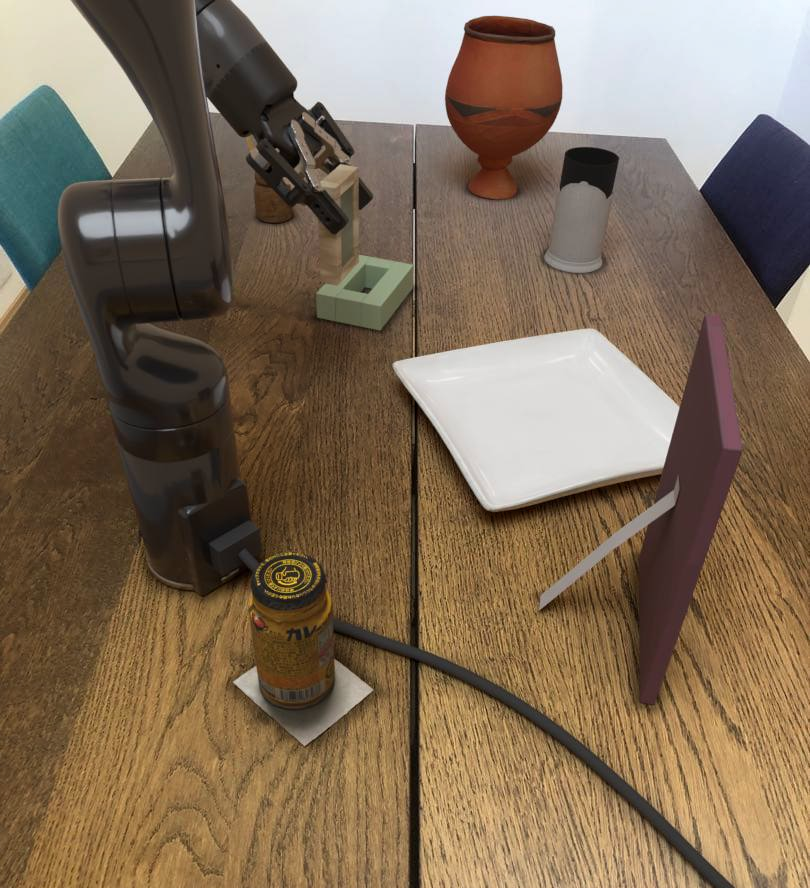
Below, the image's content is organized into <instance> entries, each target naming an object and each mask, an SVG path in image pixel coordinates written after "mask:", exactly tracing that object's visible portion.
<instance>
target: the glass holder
mask: <svg viewBox="0 0 810 888" xmlns="http://www.w3.org/2000/svg"><path fill="white" fill-rule="evenodd" d="M619 162H620V157H619V155H617V153H615V152H613V151H610V150H608V149H604V148H601V147H593V146H578V147H577V146H576V147H571V148H569V149H567V150H565V152H564V156H563V161H562V169H561V175H560V182H559V184H558V188H557V193H556V199H555V206H554V212H553V218H552V224H551V231H550V236H549V242H548V243H549V244H548V248H547V251H545V254H544V255H543V259H544V262H545V263H546V264H547V265H548V266H550V267H552V268H553V269H556V270H559V271H561V272H562V271H563V272H566V273H573V274H574V273H575V274H585V273H592V272H595V271H597V270H599V269H600V268H602V266H603V258H602V252H603V247H604V243H605V237H606V231H607V227H608V222H609V217H610V212H611V208H612V204H613V203H612V202H613V197H614V187H615V181H616V176H617V171H618V167H619Z"/></svg>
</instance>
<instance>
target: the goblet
mask: <svg viewBox="0 0 810 888" xmlns="http://www.w3.org/2000/svg"><path fill="white" fill-rule="evenodd" d="M463 31H464V34H463V37H462V40H461V44H460V47H459V51H458V53H457V55H456V58H455V60H454V62H453V65H452V66H451V69H450V73H449V75H448V78H447V82H446V87H445V95H444V104H445V112H446V116H447V119H448V122H449V124H450V126H451V128H452V130H453V132H454V133H455V135H456V136H457V137H458V139H459V140H460V141H461V142H462V143H463V145H465V147H466V148H468V149H469V150H470V151H471V152H473V153H474V154H476V155H477V159H476V161H477V163H478V164H479V166H480V167H481V168H480V169H479V170H478V172H477V173H476V174H475V175H474V176H473V178H472V179H471V180H470V182H469V183H468V187H467V188H468V190H469V192H470V193H471V194H473V195H475V196H477V197H481V198H483V199H490V200H505V199H510V198H513V197H514V196H515V195H516V194H517V193H518V186H517V183H516V181H515V180H514V178H513V176H512V174H511V173H510V171H509V169H508V166H510V164H512V162H513V157H514V156H517V155H520V154H522V153H524V152H526V151H528V150H529V149H531V148H533V147H534V146H535V145H536V144H538V143H539V142H540V141H541V140H542V139H543V138H545V136H546V135H547V134H548V132H549V131H550V129H552V127H553V125H554V123H555V122H556V119H557V117H558V114H559V112H560V110H561V106H562V101H563V90H564V89H563V88H564V87H563V77H562V72H561V71H562V70H561V66H560V60H559V57H558V51H557V46H556V41H555V37H556V29H555V28H554V26H553V25H549V24H546V23H543V22H539V21H536V20H534V19H529V18H522V17H515V16H506V15H482V16H479V17H474V18H472V19H469V20H467V22H465V24H464V27H463Z"/></svg>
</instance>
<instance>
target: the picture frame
mask: <svg viewBox="0 0 810 888" xmlns="http://www.w3.org/2000/svg"><path fill="white" fill-rule="evenodd" d="M724 333H725V332H724V328H723V322H722V316H721V315H717V314H716V315H715V314H704V316H703V319H702V323H701V327H700V331H699V334H698V338H697V341H696V345H695V348H694V353H693V355H692V360H691V364H690V367H689V371H688V375H687V377H686V383H685V386H684V390H683V393H682V398H681V401H680V405H679V407H680V408H679V412H678V415H677V419H676V423H675V426H674V430H673V434H672V438H671V441H670V445H669V449H668V452H667V456H666V460H665V463H664V467H663V471H662V474H660V478H659V483H658V485H657V489H656V494H655V497H654V501H653V504H652V505H651V506H650V507H648V508H647V509H646V510H644V511H643V512H641V513H640V514H639V515H638V516H636V517H635V518H633V519H632V520H631V521H629V522H628V523H626V524H625V525H624V526H622V527H621V528H620V529H619V530H617V531H616V532H615V533H614V534H612V535H610V536H609V537H608V538H607V539H606V540H605V541H604V542H602V543H601V544H600V545H599V546H597V547H596V548H595V549H594V550H593V551H592V552H591V553H589V554H588V555H587V556H585V558H584V559H582V560H581V561H580V562H579V563H578V564H576V565H575V566H574V567H573V568H571V569H570V570H569V571H568V572H567V573H565V574H564V575H563V576H562V577H560V578H559V580H557V581H556V582H555V583H554V584H552V585H551V586H550V587H549V588H548V589H547V590H545V591H544V592H542V594H540V600H539V607H538V610H539V611H541V610H542V609H543V608H544V607H546V606H547V605H548V604H549V603H550V602H552V601H553V600H554V599H555V598H556V597H558V596H559V595H560V594H561V593H563V592H564V591H565V590H566V589H568V588H569V587H570V586H571V585H572V584H573V583H575V582H576V581H577V580H579V579H580V578H581V577H582V576H583V575H584V574H586V573H587V572H588V571H590V570H591V569H592V568H593V567H594V566H595V565H596V564H598V563H599V562H600V561H602V560H603V559H604V558H605V557H606V556H608V555H609V554H610V553H612V552H613V550H616V548H617V547H619V546H621V545H622V544H623V543H625V542H626V541H627V540H629V539H630V538H631V537H633V536H635V535H636V534H637V533H639V532H640V531H641V530H642V529H644V528H646V531H645V533H644V538H643V541H642V546H641V548H640V552H639V557H638V636H639V637H638V639H639V640H638V642H639V645H638V647H639V650H638V651H639V653H638V654H639V703H641V704H647V705H653V706H654V705H655V704H656V703H657V699H658V696H659V693H660V690H661V687H662V685H663V682H664V679H665V677H666V673H667V670H668V667H669V665H670V661H671V658H672V656H673V652H674V650H675V647H676V644H677V641H678V639H679V636H680V632H681V630H682V628H683V624H684V621H685V618H686V616H687V612H688V610H689V607H690V604H691V601H692V599H693V595H694V592H695V590H696V587H697V584H698V581H699V578H700V575H701V572H702V569H703V567H704V564H705V560H706V558H707V555H708V552H709V549H710V546H711V544H712V541H713V538H714V535H715V532H716V529H717V526H718V523H719V522H720V521H719V520H720V517H721V514H722V511H723V510H724V506H725V504H726V500H727V497H728V495H729V491H730V489H731V486H732V483H733V480H734V477H735V474H736V471H737V468H738V466H739V464H740V460H741V457H742V454H743V450H744V449H743V443H742V437H741V430H740V425H739V419H738V413H737V407H736V401H735V400H736V399H735V394H734V389H733V382H732V377H731V371H730V370H731V369H730V364H729V357H728V353H727V346H726V340H725V334H724Z"/></svg>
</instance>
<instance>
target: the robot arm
mask: <svg viewBox="0 0 810 888" xmlns="http://www.w3.org/2000/svg"><path fill="white" fill-rule="evenodd" d="M70 2H71V3H72V4H73V6H74V7H75V9H76V10H77V11H78V12H79V14H80V15H81V16H82V17H83V19H84V20H85V21H86V23H87V24H88V25H89V27H90V28H91V29H92V31H93V32H94V33H95V34H96V36H97V37H98V38H99V39H100V41H101V43H103V45H104V46H105V47H106V49H107V50H108V51H109V53H110V54H111V55H112V57H113V58H114V60H115V61H116V62H117V64H118V65H119V66H120V68H121V70H122V71H123V73H124V74H125V76H126V77H127V79H128V80H129V82H130V83H131V85H132V86H133V88H134V90H135V92H136V93H137V95H138V96H139V98H140V99H141V102H142V103H143V105H144V106H145V108H146V110H147V112H148V114H149V115H150V116H151V119H152V120H153V122H154V124H155V126H156V128H157V130H158V133H159V135H160V137H161V138H162V140H163V143H164V145H165V148H166V150H167V153H168V156H169V160H170V162H171V167H172V175H171V176H170V177H162V178H160V177H151V178H149V177H148V178H129V179H107V180H89V181H80V182H79V181H78V182H73V183H71V184H70V185H68V186H67V187H66V188H65V189H64V190H63V192H62V194H61V196H60V198H59V201H58V206H57V207H58V208H57V231H58V237H59V243H60V247H61V252H62V257H63V258H62V259H63V261H64V265H65V268H66V273H67V275H68V278H69V282H70V285H71V288H72V291H73V294H74V297H75V300H76V303H77V306H78V309H79V312H80V315H81V319H82V321H83V324H84V327H85V330H86V333H87V336H88V341H89V343H90V346H91V349H92V353H93V355H94V360H95V364H96V368H97V371H98V375H99V378H100V382H101V384H102V385H101V386H102V388H103V393H104V397H105V401H106V404H107V408H108V412H109V416H110V420H111V423H112V427H113V431H114V435H115V439H116V444H117V448H118V451H119V455H120V459H121V463H122V468H123V470H124V474H125V478H126V482H127V486H128V490H129V494H130V497H131V498H130V499H131V500H132V505H133V510H134V513H135V517H136V520H137V521H136V522H137V524H138V537H137V542H138V546H139V549H140V550H141V548H142V543H143V547H144V550H145V558H146V563H147V567H148V569H149V572H150V573H151V574H152V576H153V577H154V578H155V579H156V580H158V581H159V582H160V583H161V584H164V585H165V586H168V587H171V588H174V589H177V590H183V591H193V592H196V594H198V595H199V596H201V597H203V596H206V595H207V594H209V593H211V592H212V591H214V590H215V589H217V588H219V587H220V586H222V585H224V584H226V583H227V582H229V581H231V580H233V579H234V578H235V577H237V576H238V575H241V573H243V572H245V571H246V570H248V569H249V570H250V572H252V573H253V572H254V570H255V568H256V567H257V566H258V564H259V563H260V562H259V561H258V559H257V556H258V555H259V554H261V553H262V552H263V547H262V540H261V532H260V531H261V530H260V528H259V526H257V525H256V524H254V522H253V520H252V512H251V505H250V498H249V497H250V496H249V489H248V485H247V483H246V482H245V481H244V480H243V479H242V475H241V473H242V472H241V468H240V459H239V453H238V452H239V451H238V446H237V436H236V429H235V424H234V423H235V422H234V421H235V420H234V415H233V414H234V413H233V406H232V400H231V399H232V398H231V392H230V384H229V377H228V371H227V365H226V363H225V361H224V359H223V357H222V355H221V353H219V351H218V350H217V349H216V348H214V347H213V346H211V345H210V344H209V343H208V342H207V343H206V342H205V341H203V340H201V339H198V338H196V337H193V336H189V335H186V334H183V333H179V332H175V331H171V330H168V329H165V328H162V327H160V326H157V325H155V324H159V323H172V322H174V323H175V322H181V321H183V322H184V321H196V320H198V321H199V320H209V319H215V318H219V317H222V316H223V317H224V316H225V315H226V314H227V313H228V312H229V310H230V309H231V307H232V304H233V301H234V298H235V297H234V296H235V284H236V282H235V281H236V279H235V277H236V276H235V262H234V252H233V244H232V238H231V231H230V225H229V224H230V223H229V219H228V218H229V217H228V212H227V207H226V201H225V196H224V190H223V185H222V183H223V182H222V178H221V173H220V165H219V160H218V154H217V149H216V143H215V138H214V132H213V125H212V121H211V115H210V114H211V113H210V108H209V102H210V103H211V104H212V105H213V106H214V108H215V109H216V110H217V112H218V113H219V114H220V115H221V117H223V119H224V120H225V121H226V123H228V124H229V126H230V127H231V128H232V130H233V131H234V132H235V133H236V134H237V136H239V138H243V139H244V138H245V139H246V137H248V136H250V137H251V136H253V138H254V140H255V142H256V145H254V148H253V150H252V151H251V152H250V151H249V153H248V154H247V155H246V156H245V161H246V163H247V164H248V166H249V167H250V168H251V169H252V170H253V171H254V172H255V171H256V173H257V174H258V175H259V176H260V177H261V178H262V179H263V180H264V181H265V182H266V183H267V184H268V185H269V186H270V187H271V188H272V189H273V190H274V191H275V192H276V193H277V194H278V195H279V196H280V197H281V198H282V199H283V200H284V202H285V203H286V204H287V205H288V206H290V207H293V208H294V207H295V206H296V205H299V204H300V205H301V206H302V207H306V206H307V207H308V208H309V210H311V212H312V213H313V214H314V215H315V216H316V218H317V220H318V219H319V220H320V221H321V222H322V224H323V225H324V226H325V227H326V228H327V229H328V230H329V232H330V233H331V234H334V235H335V234H337V233H338V232H339V231H340V230H341V229H343V228H344V227H345V226H346V225H347V224H348V222H349V219H348V217H347V216H346V214H345V213H344V212H343V211H342V209H341V208H340V207H339V206H338V205H337V203H336V202H335V201H334V200H333V199H332V198H331V196H330V195H329V194H328V193H327V192H326V190H324V191H322V185H321V183H320V181H321V180H320V179H319V177H318V175H317V173H316V171H315V170H318V169H319V170H321V171H322V172H324V173H325V174H326V176H327V175H329V174H330V173H331V172H332V171H333V170H334V169H336V168H337V167H338V166H339V165H340V164H343V165H349V166H353V161H352V159H351V158H352V156H353V155H354V154H355V153H356V152H355V149H354V147H353V146H352V144H351V143H350V141H349V140H348V138H347V137H346V136H345V134H344V133H343V131H342V129H341V128H340V127H339V125H338V124H337V122H336V121H335V120H334V118H333V117H332V115H331V114H330V112H329V111H328V109H327V108H326V106H325V104H324V103H322V102H321V101H317V102H316V103H315V104H314V105H312V106H311V108H309V109H307V108H306V107H305V106H304V105H302V104H301V103H300V102H299V101H298V100H297V99H296V98H295V95H294V93H295V92H296V90H297V88H298V80H297V78H296V76H295V75H294V74H293V72H292V71H291V70H290V69H289V68H288V67H287V65H286V64H285V63H284V61H283V60H282V59H281V58H280V57H279V55H278V53H277V52H276V51H275V50H274V49H273V47H272V46H271V44H270V43H269V42H268V41H267V40H266V38H265V37H264V36H263V34H262V33H261V31H259V29H258V28H257V27H256V25H254V23H253V22H252V20H251V19H250V18H249V17H248V16H247V15H246V13H244V12H243V10H241V8H239V6H237V4H235V2H233V0H70ZM208 100H209V102H208ZM336 143H337V144H338V146H339V147H340V148H339V147H338V146H337V145H336ZM272 167H273V168H272ZM282 178H283V180H284V182H285V184H286V185H290V186H291V191H289V190H288V189H287V187H286V186H285V185H284V184H283V183H282V182H281V179H282ZM321 191H322V192H321ZM373 199H374V195H373V193H372V191H371V190H370V189H369V188H368V186H367V185H366V184H365V182H364V181H363V180H362V178H361V177H360V176H359V211H361V210H363V209H364V208H365V207H366V206H367V205H368V204H369V203H370V202H372V200H373ZM333 632H336V633H340V634H342V635H343V634H344V635H346V636H349V637H352V638H355V639H358V640H360V641H362V642H364V643H367V644H370V645H372V646H376V647H378V648H381V649H384V650H386V651H390V652H393V653H396V654H398V655H402V656H404V657H407V658H409V659H413V660H414V661H417V662H421V663H424V664H426V665H428V666H431V667H433V668H436V669H438V670H440V671H441V672H444V673H446V674H448V675H451V676H453V677H455V678H457V679H459V680H461V681H463V682H465V683H467V684H469V685H471V686H473V687H475V688H477V689H478V690H481V691H482V692H484V693H486V694H488V695H489V696H491V697H493V698H495V699H497V700H498V701H500V702H502V703H503V704H504V705H507V707H510V708H511V709H512V710H514V711H516V712H517V713H518V714H521V715H522V716H523V717H524V718H526V719H528V720H529V721H530V722H532V723H534V724H535V725H537V726H538V727H539V728H541V729H542V730H543V731H545V732H546V733H548V734H549V735H550V736H552V737H553V738H554V739H555V740H557V741H558V742H559V743H561V744H562V745H563V746H565V748H567V749H568V750H569V751H570V752H572V753H573V754H574V755H575V756H577V757H578V758H579V759H580V760H581V761H582V762H584V763H585V764H586V765H587V766H588V767H590V769H592V770H593V771H594V772H595V773H596V774H597V775H598V776H599V777H600V778H602V779H603V780H604V781H605V782H606V783H607V784H608V785H609V786H610V787H612V788H613V789H614V790H615V791H616V792H617V793H618V794H619V795H620V796H621V797H623V799H625V800H626V801H627V802H628V803H629V804H630V805H631V806H632V807H633V808H635V810H637V812H639V814H640V815H642V816H643V817H644V818H645V819H646V821H648V822H649V823H650V824H651V825H652V826H653V827H654V828H655V829H656V830H657V831H658V833H660V834H661V836H663V838H664V839H666V840H667V842H669V844H671V845H672V846H673V848H674V849H675V850H676V851H677V852H678V853H679V854H680V855H682V857H683V858H684V859H685V860H686V862H688V863H689V864H690V865H691V866H692V868H694V869H695V871H697V872H698V873H699V874H700V875H701V876H702V877H703V878H704V879H705V880H706V881H707V882H708V883H709V884H710V885H711V886H712V887H713V888H736V887H735V886H734V885H733V884H732V883H730V881H729V880H728V879H726V878H725V876H724V875H722V873H720V872H719V871H718V870H717V869H716V868H715V867H714V866H713V865H712V864H711V863H710V862H709V861H708V859H706V858H705V857H704V856H703V855H702V854H701V853H700V852H699V851H698V850H697V849H696V848H695V847H694V846H693V845H692V844H691V842H689V841H688V840H687V839H686V838H685V837H684V836H683V835H682V834H681V833H680V832H679V830H677V829H676V828H675V827H674V826H673V825H672V824H671V823H670V822H669V821H668V820H667V819H666V818H665V817H664V816H663V815H662V813H660V812H659V810H657V809H656V808H655V807H654V806H653V805H652V804H651V803H650V802H649V801H648V800H647V799H646V798H645V797H644V796H642V795H641V794H640V792H638V791H637V790H636V789H635V788H634V787H633V786H632V785H630V783H628V782H627V781H626V780H625V779H624V778H622V776H620V775H619V774H618V773H617V772H616V771H615V770H614V769H613V768H611V767H610V766H609V765H608V764H607V763H606V762H604V761H603V759H601V758H600V757H599V756H597V755H596V754H595V753H594V752H593V751H592V750H590V748H589V747H587V746H586V745H585V744H584V743H582V742H581V741H580V740H578V739H577V738H576V737H575V736H574V735H572V734H571V733H570V732H568V731H567V730H566V729H564V727H562V726H561V725H559V724H558V723H557V722H555V721H554V720H552V719H551V718H549V717H548V716H546V715H545V714H544V713H542V712H541V711H540V710H538V709H536V708H535V707H534V706H532V705H531V704H529V703H527V702H525V701H524V700H523V699H522V698H519V696H516V695H515V694H514V693H512V692H510V691H508V690H507V689H506V688H503V687H502V686H500V685H499V684H497V683H495V682H493V681H491V680H489V679H487V678H485V677H484V676H482V675H479V674H478V673H476V672H473V671H472V670H470V669H467V668H465V667H463V666H462V665H459V664H457V663H455V662H453V661H451V660H449V659H447V658H444V657H441V656H439V655H437V654H435V653H432V652H430V651H427V650H424V649H422V648H419V647H416V646H413V645H410V644H407V643H404V642H403V641H399V640H396V639H393V638H390V637H387V636H385V635H382V634H378V633H376V632H373V631H370V630H369V629H365V628H363V627H360V626H357V625H355V624H352V623H349V622H345V621H343V620H339V619H336V618H333Z"/></svg>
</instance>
